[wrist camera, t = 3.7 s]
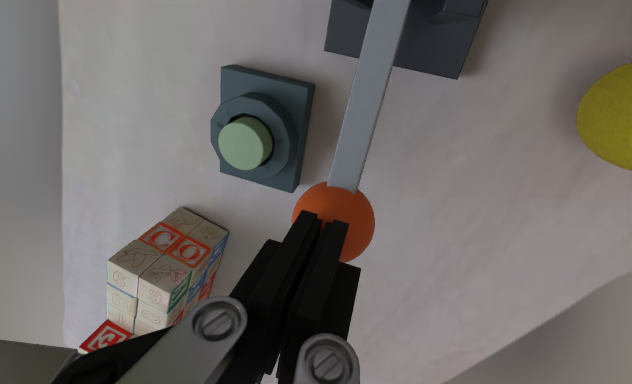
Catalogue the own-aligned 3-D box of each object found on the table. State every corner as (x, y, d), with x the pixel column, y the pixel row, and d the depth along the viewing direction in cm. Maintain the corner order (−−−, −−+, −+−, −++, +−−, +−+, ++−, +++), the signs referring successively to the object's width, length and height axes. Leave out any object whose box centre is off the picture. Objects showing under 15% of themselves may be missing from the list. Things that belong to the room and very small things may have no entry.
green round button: (230, 111, 23) (218, 117, 21) (275, 123, 22) (265, 129, 21) (229, 155, 24) (217, 163, 23) (270, 167, 24) (261, 176, 22)
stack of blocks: (179, 203, 33) (71, 285, 22) (230, 230, 33) (145, 325, 22) (159, 313, 44) (81, 401, 34) (197, 333, 44) (130, 429, 33)
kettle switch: (364, 254, 14) (358, 292, 10) (296, 232, 14) (272, 263, 11) (471, -90, 10) (508, -182, 7) (377, -102, 11) (374, -194, 8)
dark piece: (231, 64, 24) (206, 69, 21) (315, 83, 23) (300, 91, 20) (229, 165, 29) (208, 180, 26) (298, 185, 28) (285, 204, 25)
